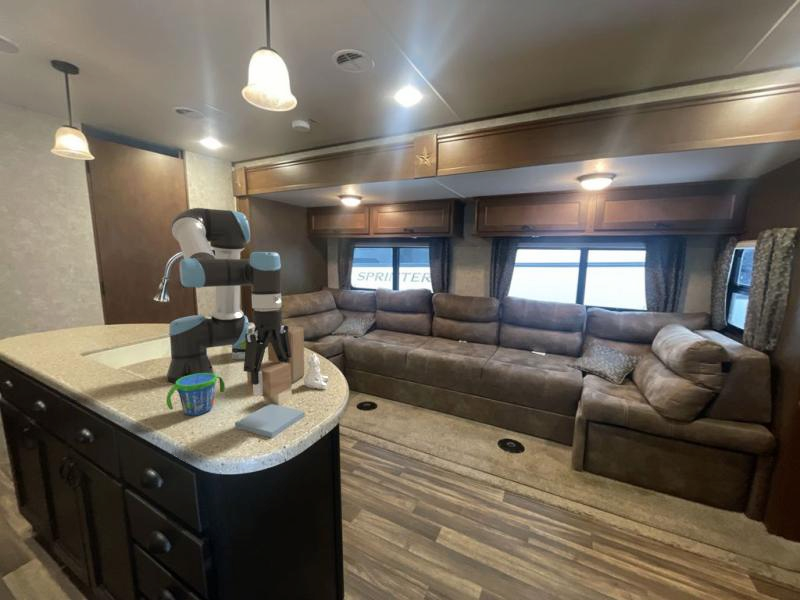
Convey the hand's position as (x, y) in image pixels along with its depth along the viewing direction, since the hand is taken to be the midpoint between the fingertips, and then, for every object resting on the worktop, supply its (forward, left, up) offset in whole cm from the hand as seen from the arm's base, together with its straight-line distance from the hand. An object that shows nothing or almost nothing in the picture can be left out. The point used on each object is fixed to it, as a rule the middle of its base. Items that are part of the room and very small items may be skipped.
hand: (270, 388), depth 92 cm
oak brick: (-8, +12, -10) cm, 17 cm away
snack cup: (-25, -3, -10) cm, 27 cm away
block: (-19, +29, -10) cm, 36 cm away
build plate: (0, 0, -10) cm, 10 cm away
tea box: (-57, +47, -10) cm, 74 cm away
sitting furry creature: (-5, +28, -10) cm, 30 cm away
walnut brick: (0, 0, 0) cm, 0 cm away
